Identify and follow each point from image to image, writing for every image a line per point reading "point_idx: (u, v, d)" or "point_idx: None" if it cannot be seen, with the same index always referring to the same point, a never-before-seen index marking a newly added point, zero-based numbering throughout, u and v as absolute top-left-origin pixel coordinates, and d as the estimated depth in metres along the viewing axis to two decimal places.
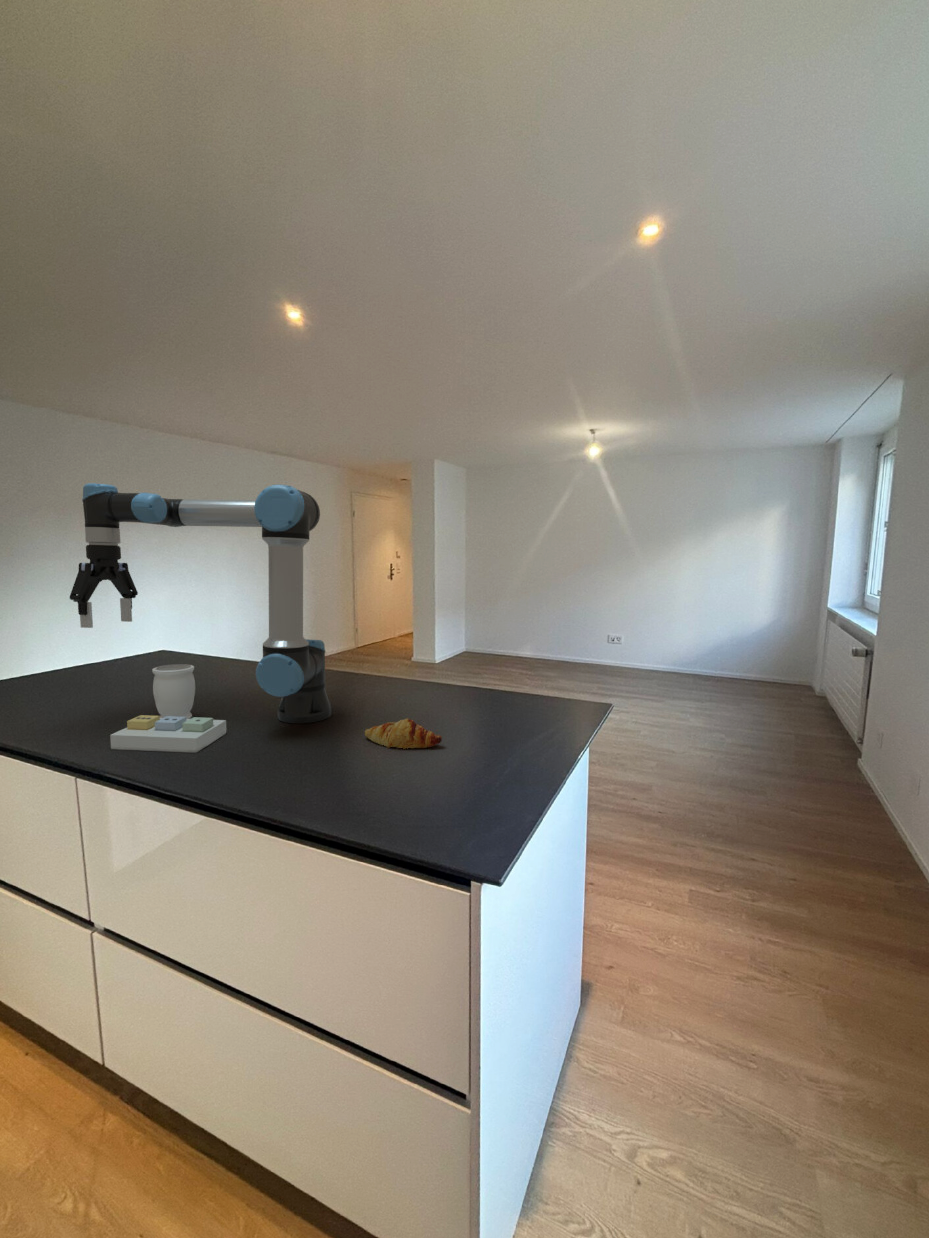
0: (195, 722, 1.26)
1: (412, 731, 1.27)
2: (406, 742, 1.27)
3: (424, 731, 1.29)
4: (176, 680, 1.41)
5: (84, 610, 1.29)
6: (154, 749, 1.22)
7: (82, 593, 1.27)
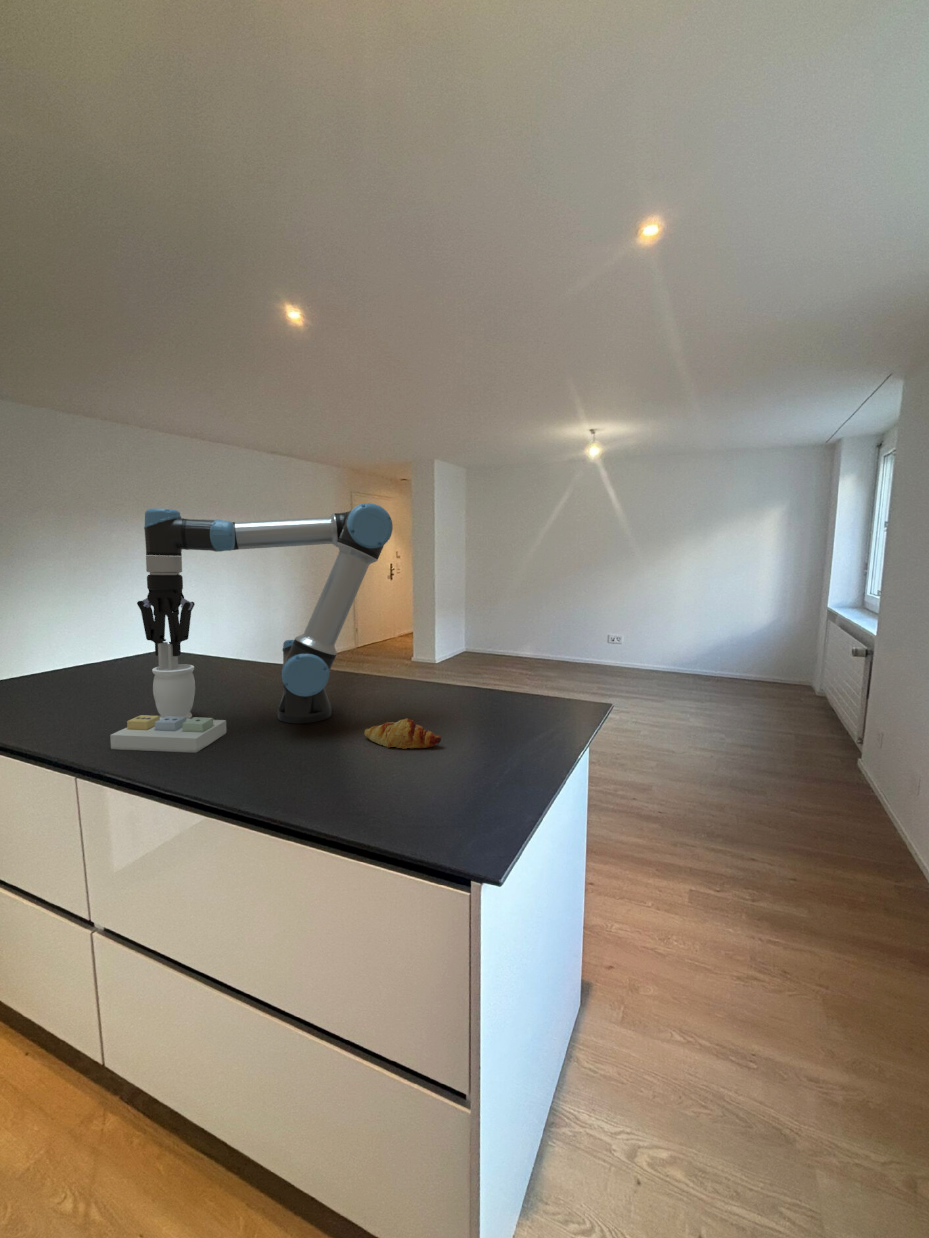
0: (195, 722, 1.26)
1: (411, 731, 1.27)
2: (405, 742, 1.27)
3: (423, 731, 1.29)
4: (176, 680, 1.41)
5: (156, 651, 1.26)
6: (154, 749, 1.22)
7: (148, 633, 1.25)
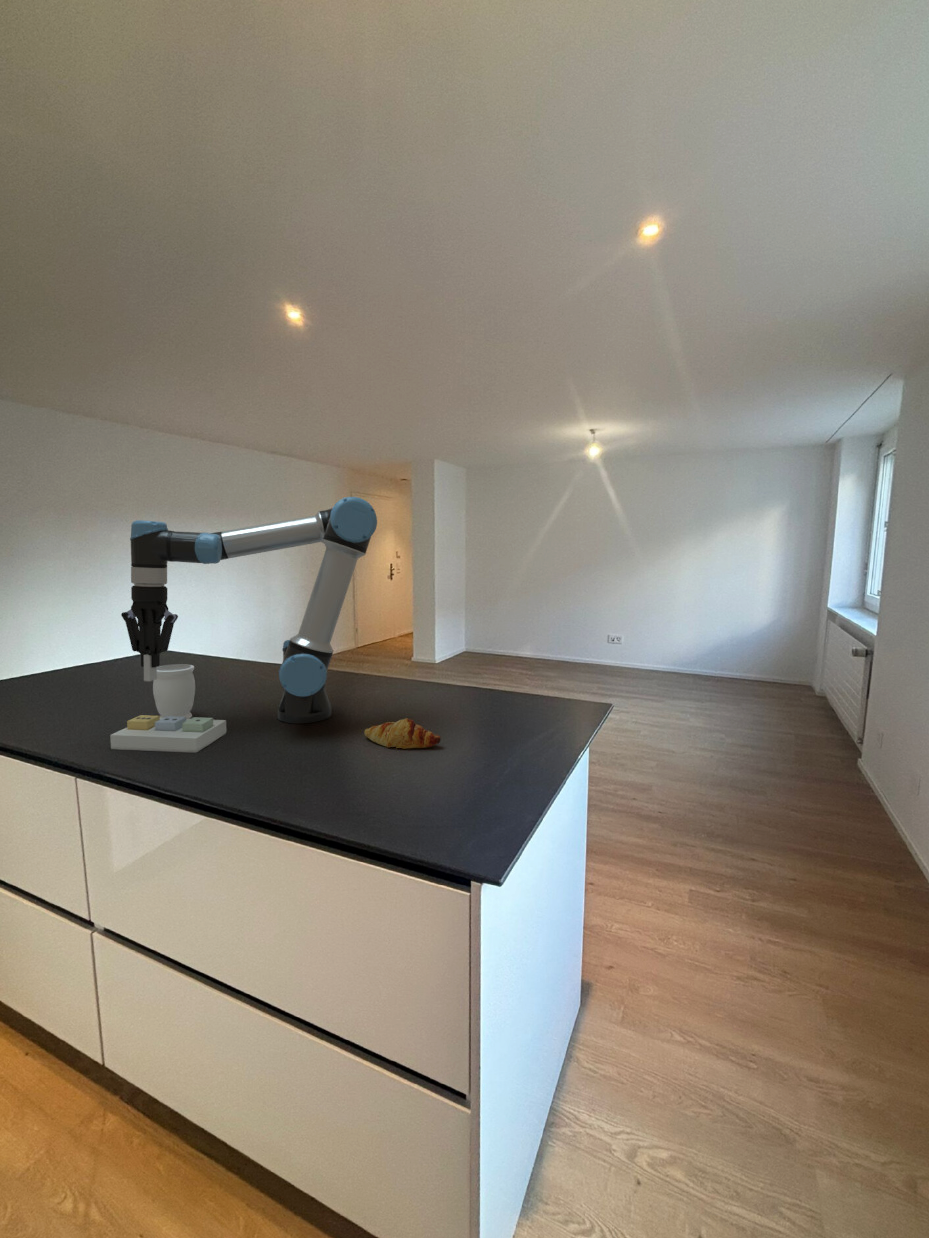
0: (195, 722, 1.26)
1: (411, 731, 1.27)
2: (405, 742, 1.26)
3: (423, 731, 1.29)
4: (176, 680, 1.41)
5: (142, 662, 1.26)
6: (154, 749, 1.22)
7: (133, 644, 1.25)
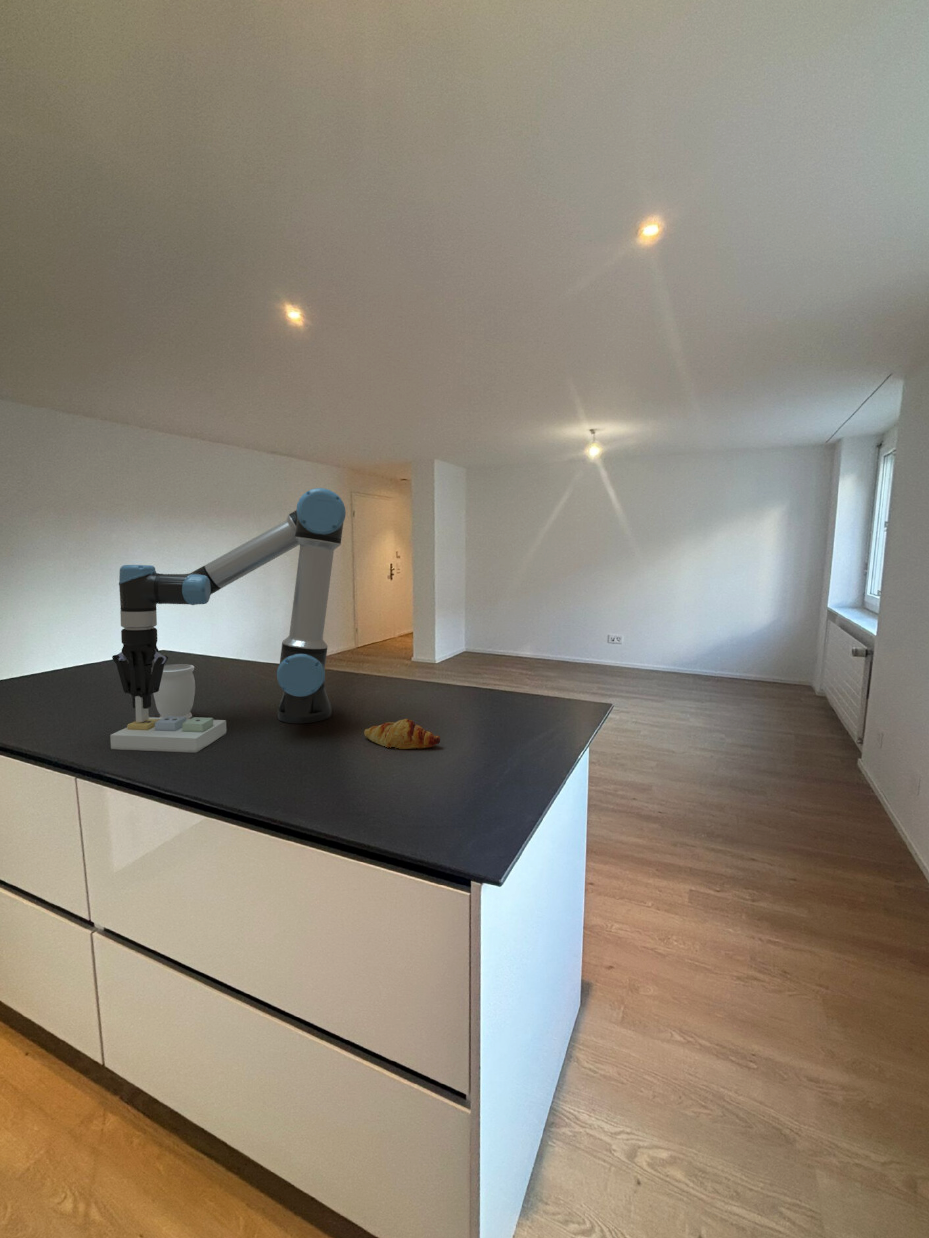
0: (195, 722, 1.26)
1: (410, 731, 1.27)
2: (404, 742, 1.26)
3: (423, 731, 1.29)
4: (176, 680, 1.41)
5: (133, 703, 1.28)
6: (154, 749, 1.22)
7: (125, 686, 1.27)
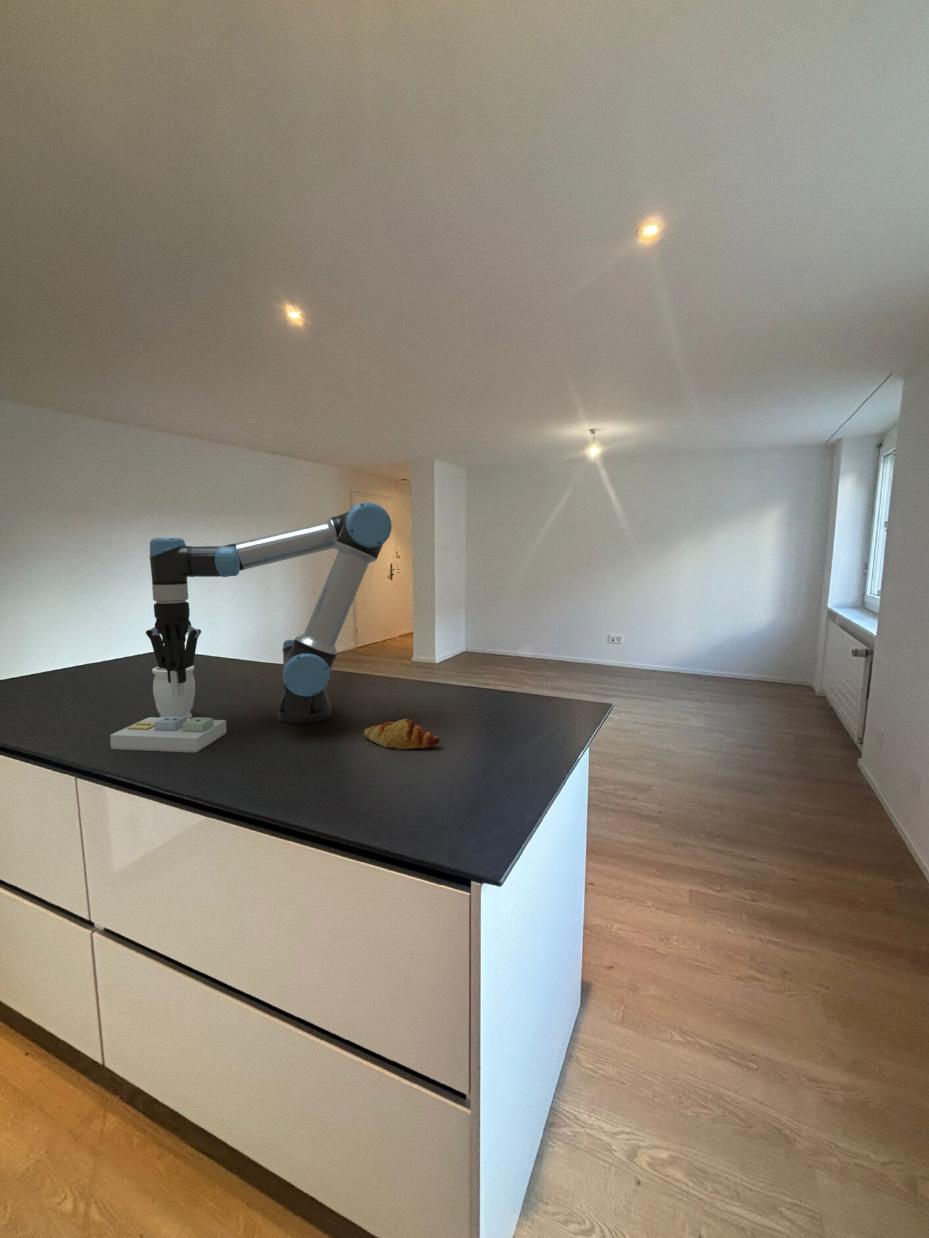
0: (195, 722, 1.26)
1: (410, 731, 1.27)
2: (404, 742, 1.26)
3: (422, 731, 1.29)
4: None
5: (169, 678, 1.27)
6: (154, 749, 1.22)
7: (159, 661, 1.26)
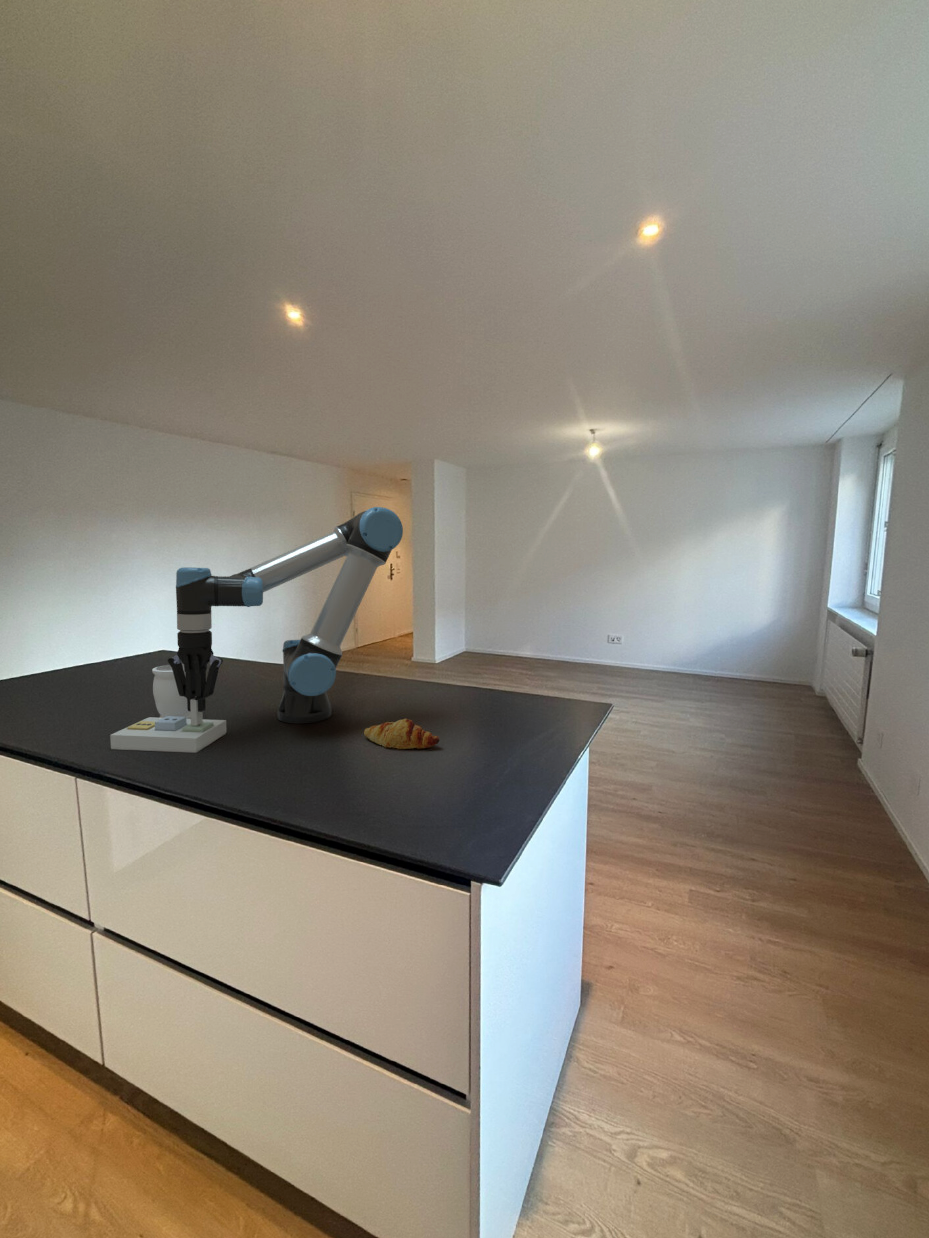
0: (195, 727, 1.27)
1: (409, 731, 1.27)
2: (403, 742, 1.26)
3: (422, 731, 1.28)
4: None
5: (188, 706, 1.27)
6: (154, 749, 1.22)
7: (180, 689, 1.26)
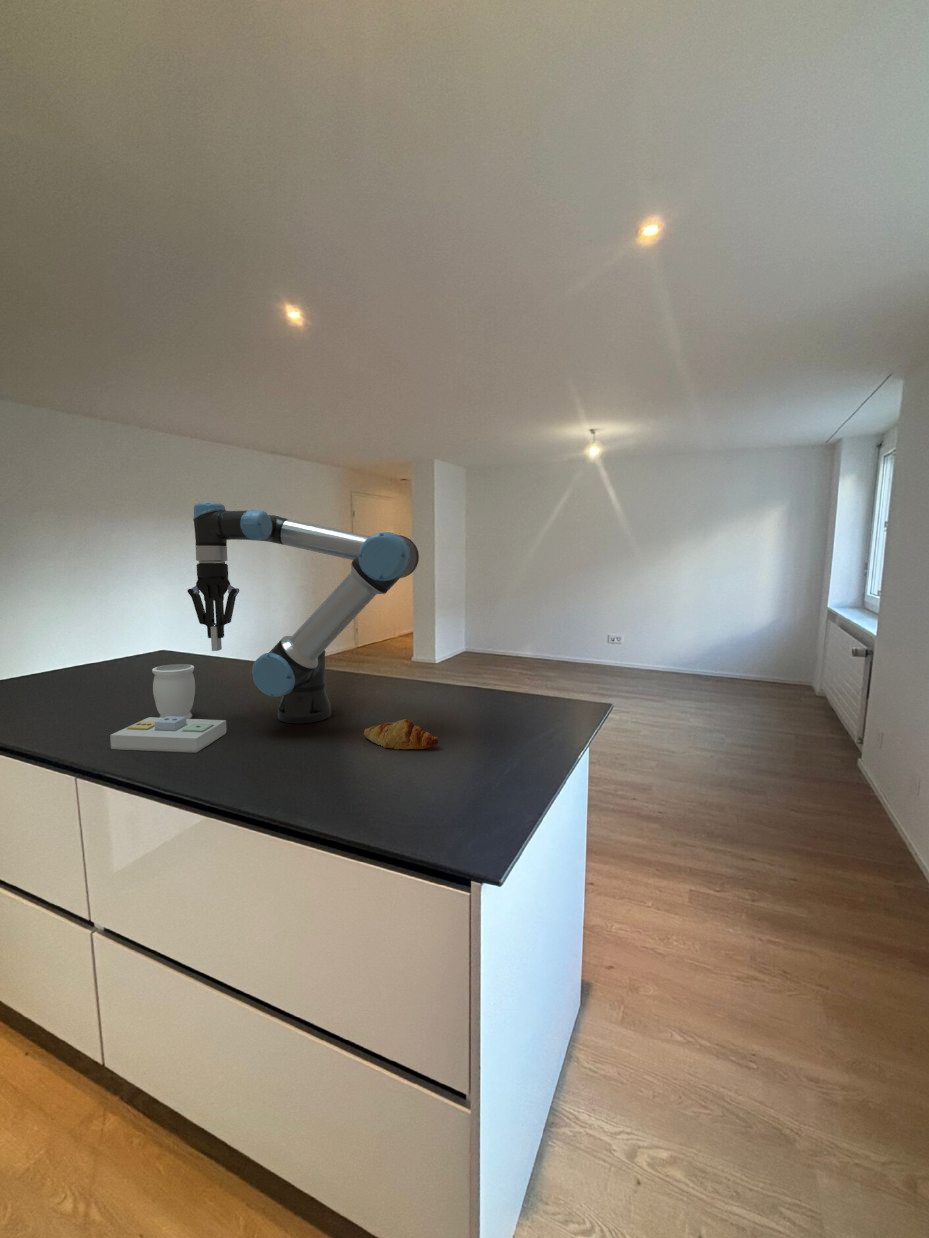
0: (195, 729, 1.27)
1: (408, 732, 1.27)
2: (402, 743, 1.26)
3: (421, 732, 1.28)
4: (176, 680, 1.41)
5: (208, 634, 1.37)
6: (154, 749, 1.22)
7: (200, 617, 1.36)
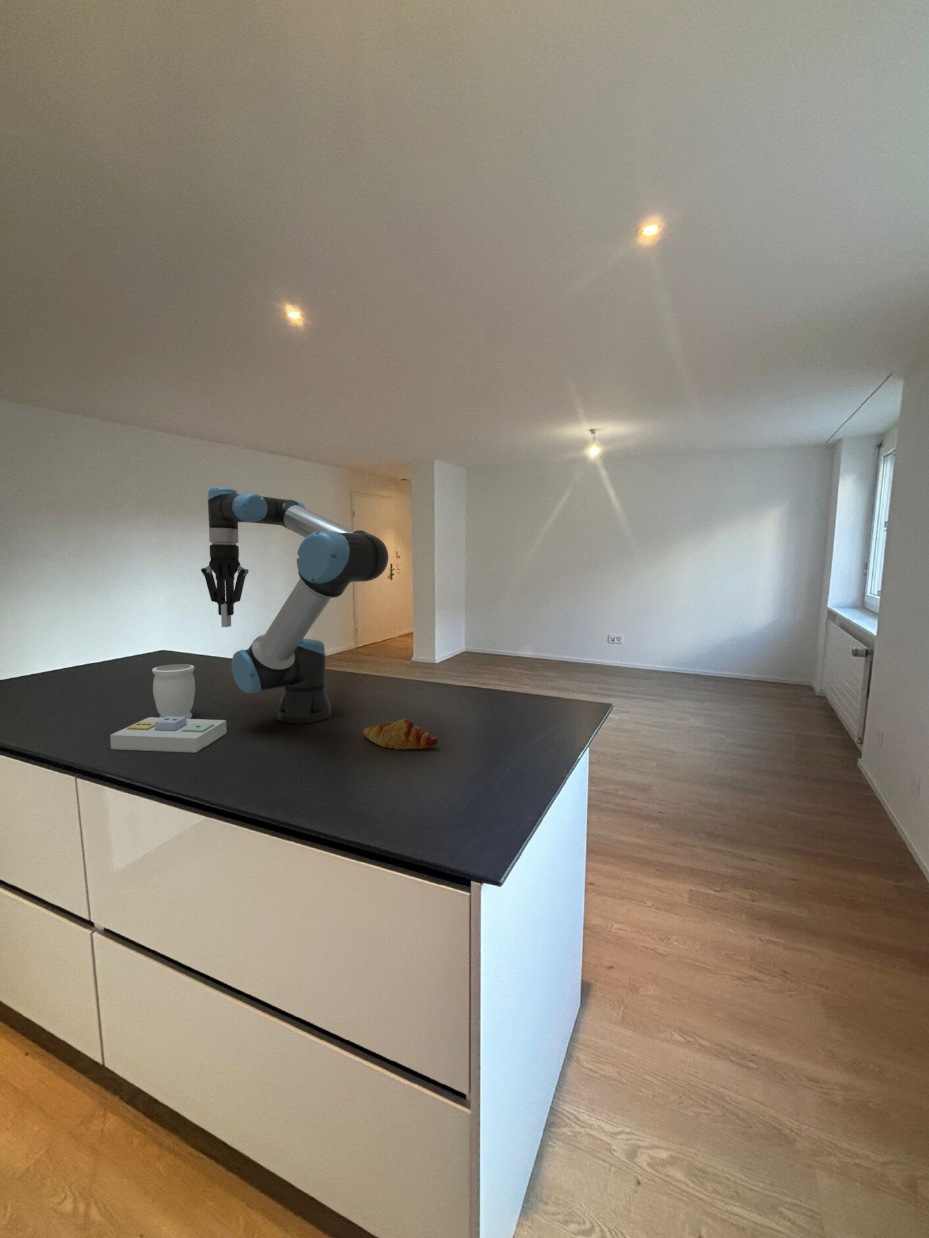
0: (195, 729, 1.27)
1: (407, 732, 1.27)
2: (401, 743, 1.26)
3: (420, 732, 1.28)
4: (176, 680, 1.41)
5: (219, 611, 1.47)
6: (154, 749, 1.22)
7: (212, 595, 1.46)
